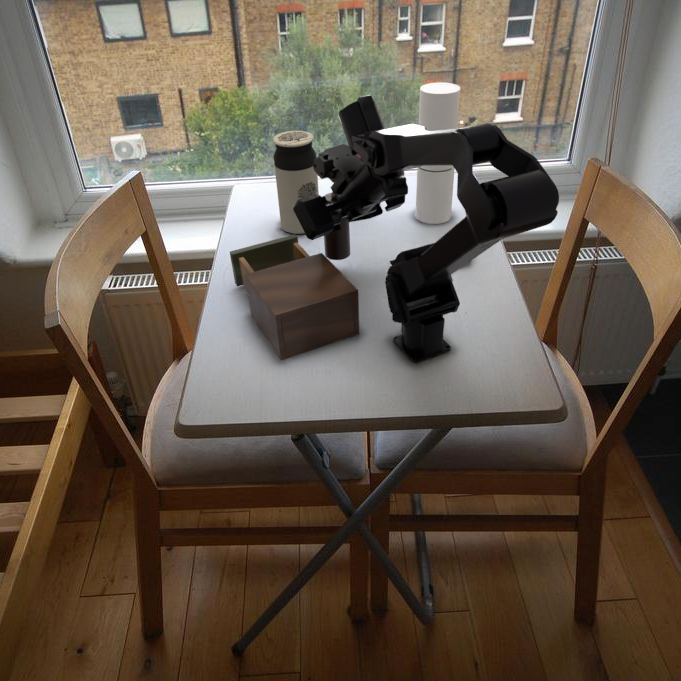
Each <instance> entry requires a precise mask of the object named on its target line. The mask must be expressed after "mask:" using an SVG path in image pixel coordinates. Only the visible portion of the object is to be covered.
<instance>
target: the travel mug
mask: <svg viewBox="0 0 681 681" xmlns="http://www.w3.org/2000/svg"><path fill="white" fill-rule="evenodd" d="M314 139H315V138H314V135H313V134H312V133H311V132H308V131H305V130H288V131H283V132H279V133H278V134H276V135H275V136H274V137H273V139H272V142H273V143H274V145H275V148H276V149H275V151H274V154H273V164H274V171H275V172H274V175H275V183H276V192H277V201H278V210H279V219H280V227H281V229H282V230H283V231H284V232H287V233H290V234H293V235H294V234H295V235H298V234H299V235H302V234H303V235H304V234H305V232H304V230H303V228H302V226H301V224H300V222H299V220H298V218H297V216H296V214H295V212H294V210H293V207H294V204H295V203H296V202H297V200H298V199H301V198H304V197H307V196H310V195H313V194H318V195H320V194H319V178H318V177H319V176H318V174H317V173H316V172H315V171H314V169H313V165H314V161H315V158H316V157H317V152H316V150H315V149H314V147H313V141H314Z"/></svg>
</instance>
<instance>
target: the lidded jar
mask: <svg viewBox="0 0 681 681" xmlns="http://www.w3.org/2000/svg"><path fill="white" fill-rule="evenodd" d="M324 196H325V198H326V200H327V202H328V203H329V204H330V205H331V204H332V202H331V198H332V197H335V196H337V194H334V193H333V192H332V191H331V192H328V193H326V194H325V195H324ZM341 212H342V211H341ZM337 213H338V212H337ZM339 225H340V227H341V230H339V231H336V232H333V233H331V234H327V235H325V236H323V244H324V245H323V246H324V256H325V257H326V258H327V259H328V260H332V261H342V260H345V259H348V258H349V257H350V256H351V235H350V234H351V233H350V232H351V230H350V222H349V217H348V216H346V217H344V218H342V221H341V223H340V224H339Z"/></svg>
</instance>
